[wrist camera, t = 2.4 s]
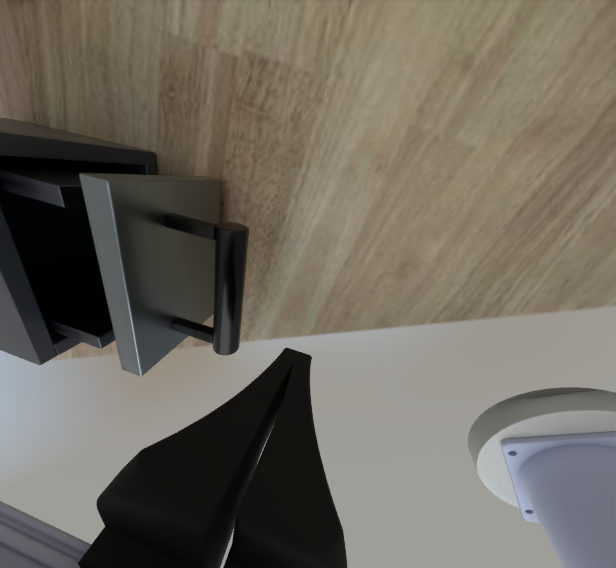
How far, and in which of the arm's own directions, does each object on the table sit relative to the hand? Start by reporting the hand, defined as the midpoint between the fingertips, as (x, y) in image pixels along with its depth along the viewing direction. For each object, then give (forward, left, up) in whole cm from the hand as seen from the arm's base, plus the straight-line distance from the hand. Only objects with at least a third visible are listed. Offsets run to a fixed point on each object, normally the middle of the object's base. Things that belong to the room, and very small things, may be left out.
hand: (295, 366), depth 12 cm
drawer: (+8, +6, -5) cm, 12 cm away
